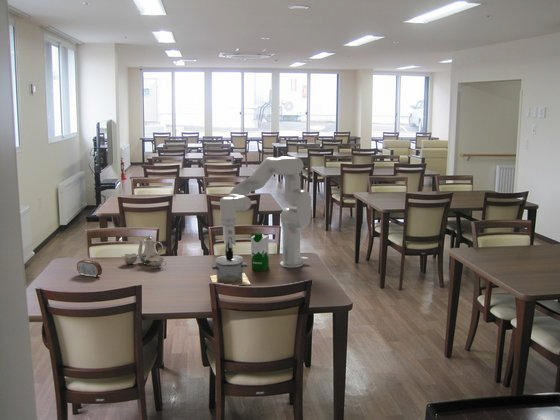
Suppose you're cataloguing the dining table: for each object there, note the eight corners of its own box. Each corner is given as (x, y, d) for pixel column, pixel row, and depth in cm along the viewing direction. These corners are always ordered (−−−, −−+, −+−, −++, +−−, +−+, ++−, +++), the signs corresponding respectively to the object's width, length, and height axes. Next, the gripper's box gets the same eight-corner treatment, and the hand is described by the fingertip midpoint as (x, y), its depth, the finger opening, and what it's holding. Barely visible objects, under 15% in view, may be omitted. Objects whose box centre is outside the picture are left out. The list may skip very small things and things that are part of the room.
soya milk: (249, 270, 310) (248, 234, 306) (255, 265, 318) (255, 230, 314) (265, 271, 307) (264, 235, 303) (270, 267, 315) (270, 231, 312)
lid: (241, 256, 298) (240, 244, 297) (245, 263, 285) (245, 251, 284) (213, 258, 295) (213, 246, 294) (217, 266, 282) (216, 253, 281)
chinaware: (118, 269, 321) (114, 240, 316) (134, 258, 336) (130, 231, 331) (162, 273, 312) (159, 244, 307) (177, 261, 327) (174, 234, 322)
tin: (102, 277, 301) (101, 261, 300) (98, 278, 298) (97, 263, 297) (80, 273, 307) (79, 258, 306) (76, 275, 305) (75, 259, 303)
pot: (244, 274, 303) (244, 256, 301) (250, 285, 286) (250, 265, 284) (210, 277, 299) (209, 258, 297) (214, 288, 282) (213, 268, 280)
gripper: (238, 225, 279) (239, 261, 283) (233, 218, 295) (234, 253, 299) (222, 225, 278) (224, 262, 281) (218, 219, 293) (219, 254, 297)
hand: (229, 257), depth 290 cm, fingers closed on lid, 3 cm apart
